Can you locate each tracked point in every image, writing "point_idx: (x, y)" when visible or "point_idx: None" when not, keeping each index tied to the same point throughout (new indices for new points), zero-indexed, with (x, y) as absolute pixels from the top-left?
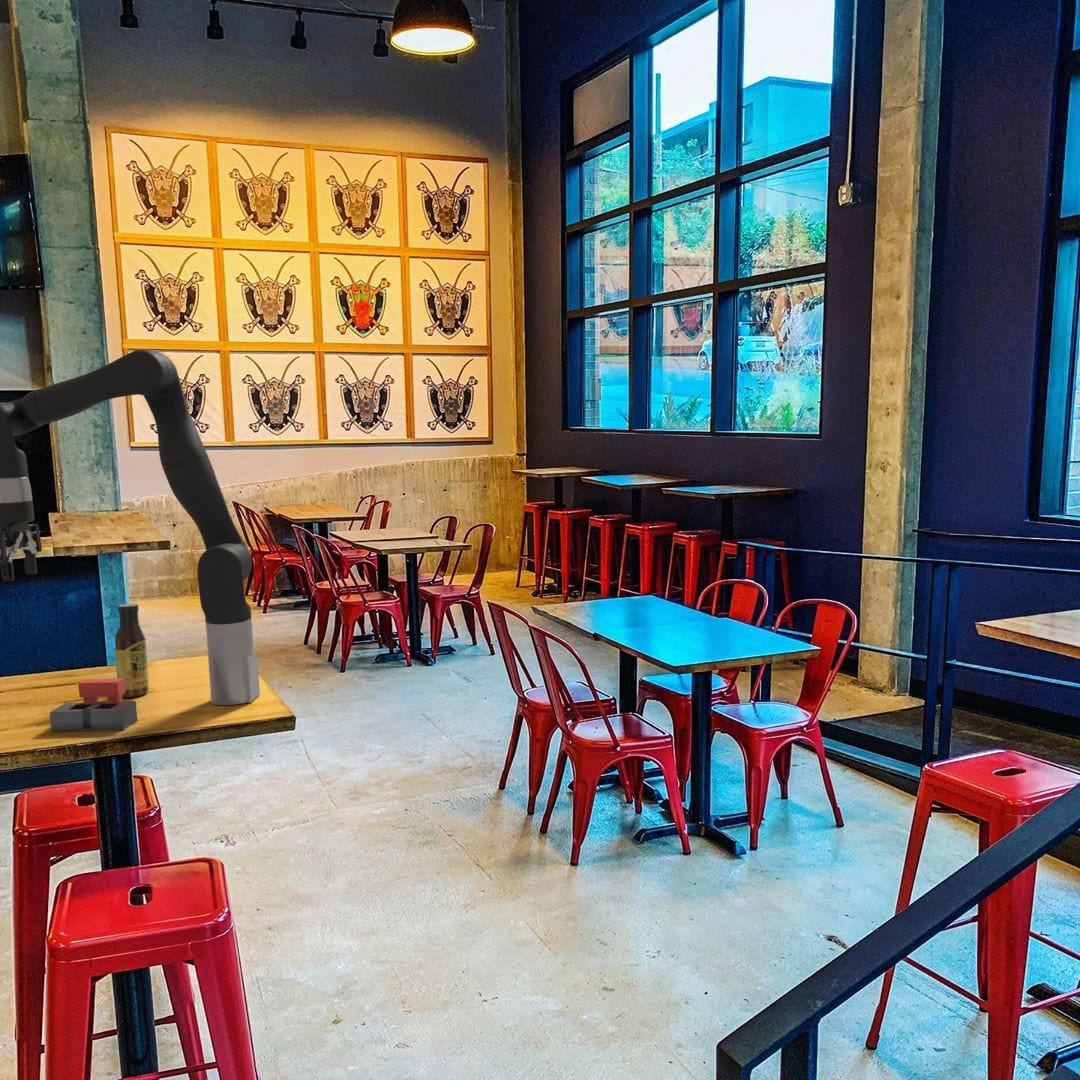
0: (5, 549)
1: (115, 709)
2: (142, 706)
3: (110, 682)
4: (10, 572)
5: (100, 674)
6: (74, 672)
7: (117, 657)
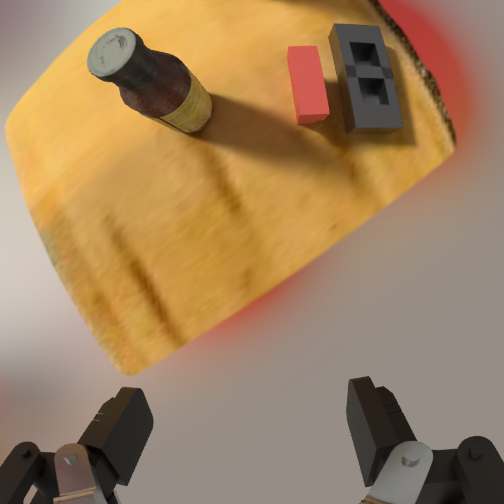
0: (485, 498)
1: (378, 35)
2: (257, 61)
3: (318, 57)
4: (380, 405)
5: (86, 252)
6: (85, 302)
7: (190, 104)
